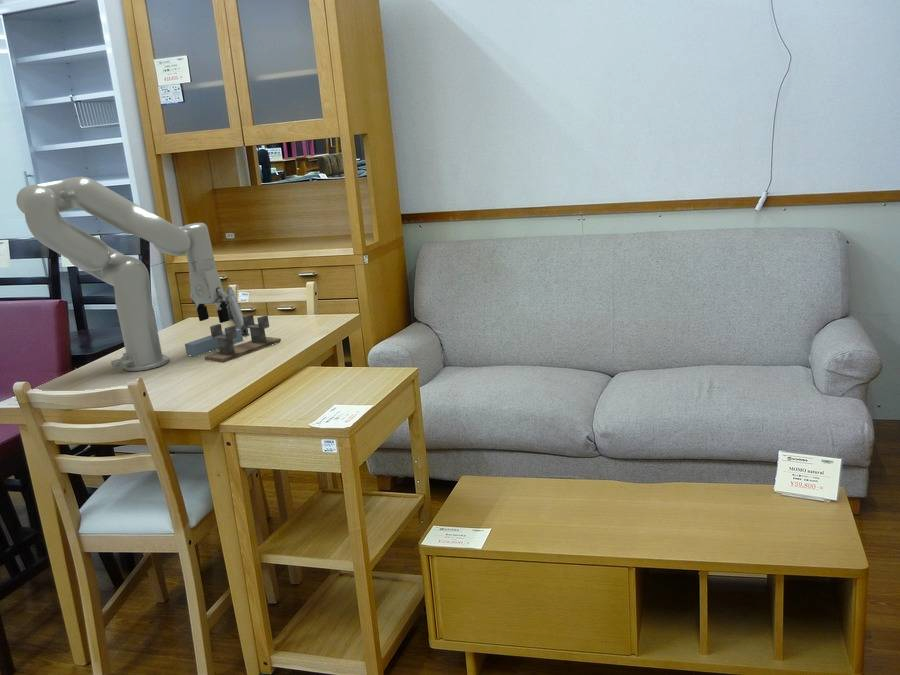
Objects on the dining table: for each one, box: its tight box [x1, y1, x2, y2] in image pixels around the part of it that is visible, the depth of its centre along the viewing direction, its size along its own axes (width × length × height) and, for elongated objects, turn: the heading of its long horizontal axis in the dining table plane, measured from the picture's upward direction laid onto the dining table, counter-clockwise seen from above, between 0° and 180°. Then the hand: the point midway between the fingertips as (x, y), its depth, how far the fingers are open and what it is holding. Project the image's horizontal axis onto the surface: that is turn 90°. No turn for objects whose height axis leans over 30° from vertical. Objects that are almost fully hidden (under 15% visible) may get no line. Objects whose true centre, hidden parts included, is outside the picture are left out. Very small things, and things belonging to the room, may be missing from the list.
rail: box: [184, 328, 244, 357], centre depth 245 cm, size 18×4×4 cm, turn 144°
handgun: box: [224, 286, 249, 335], centre depth 271 cm, size 31×3×15 cm, turn 23°
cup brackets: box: [204, 313, 282, 363], centre depth 238 cm, size 22×8×9 cm, turn 144°
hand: (214, 320), depth 244 cm, fingers open, 9 cm apart
